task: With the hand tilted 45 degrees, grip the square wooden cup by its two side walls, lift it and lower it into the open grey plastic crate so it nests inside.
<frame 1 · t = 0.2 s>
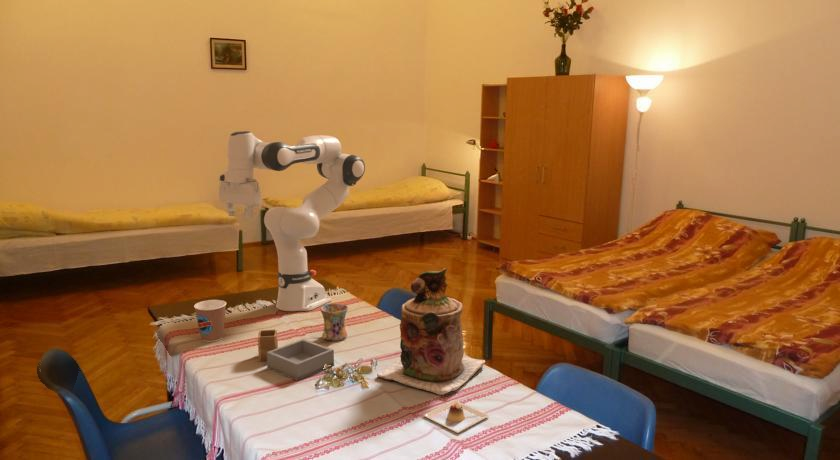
hand: (239, 217, 213), 39 cm above the table, tool pointing down, fingers open, 8 cm apart
grey crate: (300, 366, 182), on the table
mug: (332, 337, 207), on the table
coffee cup: (212, 338, 205), on the table
cookie jar: (431, 373, 179), on the table
dessert: (456, 420, 153), on the table
square wooden cup: (268, 357, 189), on the table
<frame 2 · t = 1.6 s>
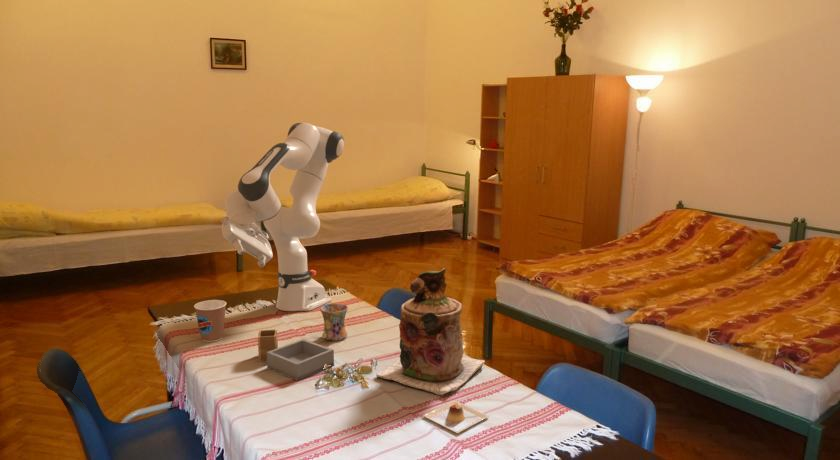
hand: (252, 259, 191), 30 cm above the table, tool tilted 55°, fingers open, 8 cm apart
nothing on the table moved.
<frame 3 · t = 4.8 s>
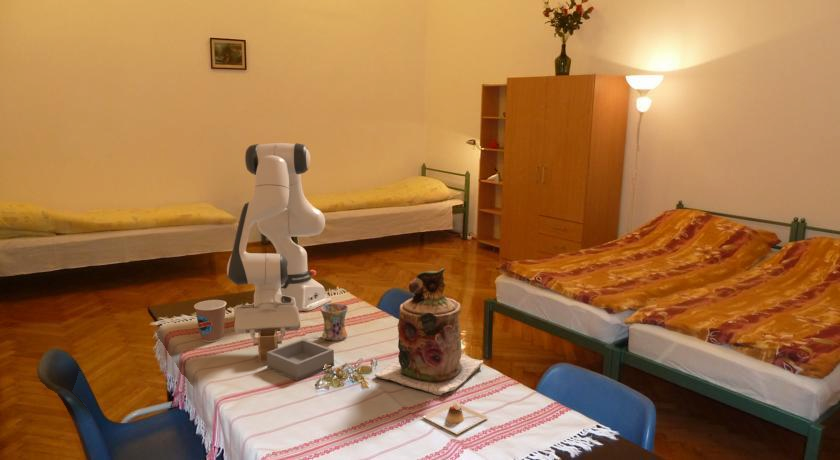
hand: (267, 343, 188), 5 cm above the table, tool tilted 45°, fingers closed on square wooden cup, 6 cm apart
square wooden cup: (268, 357, 189), on the table, touching gripper
everything else where it was.
when the fingers open (8 cm above the table, at t = 9.3 s): square wooden cup drops 2 cm, resting on grey crate.
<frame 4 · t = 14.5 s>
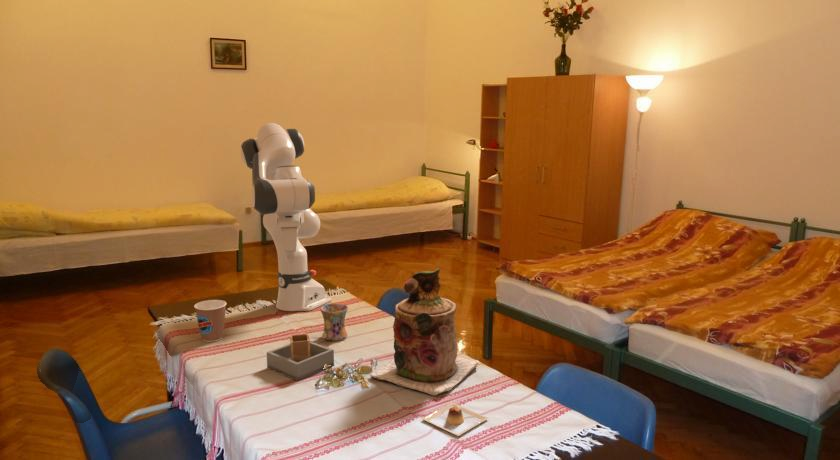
hand: (291, 260, 192), 29 cm above the table, tool pointing down, fingers open, 8 cm apart
cookie jar: (425, 373, 178), on the table
square wooden cup: (300, 363, 182), point 1 cm above the table, touching grey crate
at the end: square wooden cup inside the target area on the grey crate (0.2 cm from its centre), point 1.0 cm above the grey crate's base; square wooden cup tilted 0°; the gripper is holding nothing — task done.
